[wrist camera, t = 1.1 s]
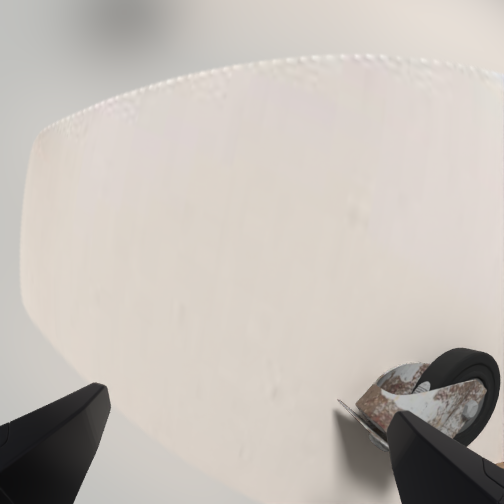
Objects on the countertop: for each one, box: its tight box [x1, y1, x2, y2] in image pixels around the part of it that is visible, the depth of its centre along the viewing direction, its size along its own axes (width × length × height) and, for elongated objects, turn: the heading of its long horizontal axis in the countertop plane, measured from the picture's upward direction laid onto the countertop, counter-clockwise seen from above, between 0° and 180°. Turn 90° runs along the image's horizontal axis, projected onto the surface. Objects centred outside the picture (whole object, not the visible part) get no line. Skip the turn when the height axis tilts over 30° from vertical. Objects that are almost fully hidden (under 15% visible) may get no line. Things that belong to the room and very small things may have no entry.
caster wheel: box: [337, 348, 500, 451], centre depth 16 cm, size 7×11×10 cm
